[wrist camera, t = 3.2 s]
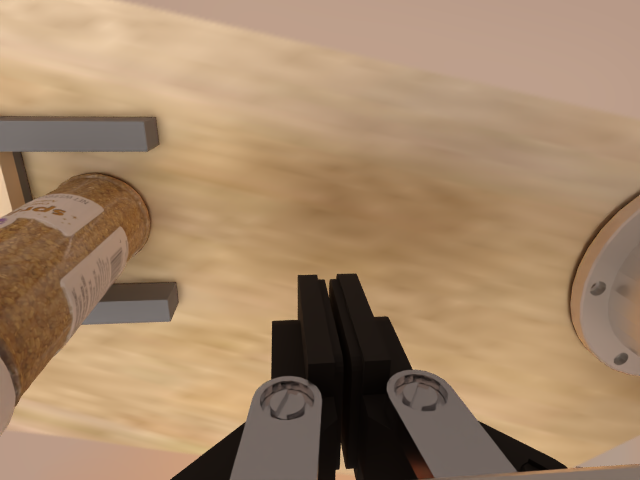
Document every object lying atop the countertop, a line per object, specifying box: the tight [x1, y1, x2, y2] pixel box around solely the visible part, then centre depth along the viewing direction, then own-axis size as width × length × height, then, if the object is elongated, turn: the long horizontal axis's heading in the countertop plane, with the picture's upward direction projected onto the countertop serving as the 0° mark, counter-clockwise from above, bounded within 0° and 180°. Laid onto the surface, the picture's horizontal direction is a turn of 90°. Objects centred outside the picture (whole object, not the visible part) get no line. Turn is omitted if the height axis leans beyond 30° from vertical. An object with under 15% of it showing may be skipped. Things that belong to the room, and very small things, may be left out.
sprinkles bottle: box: [0, 174, 150, 436], centre depth 14 cm, size 5×5×14 cm
